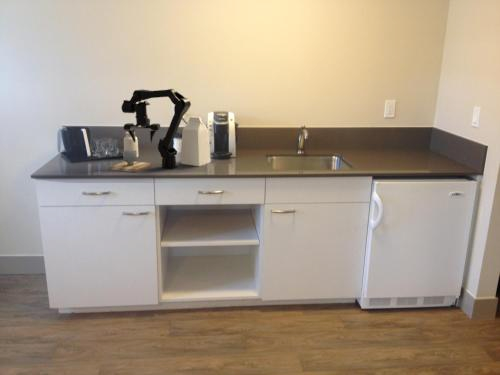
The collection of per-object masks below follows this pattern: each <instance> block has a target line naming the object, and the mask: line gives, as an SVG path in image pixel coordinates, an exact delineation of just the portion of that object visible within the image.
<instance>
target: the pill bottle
mask: <svg viewBox="0 0 500 375" xmlns="http://www.w3.org/2000/svg"><path fill="white" fill-rule="evenodd" d="M134 133H135V134H136V132H134ZM135 141H136V142H134V141H133V139H132V137H131V135H130V134H129V132H128V131H125V136H124V137H123V151H125V150H136V152H137V158H139V141H138V137H137V136H135Z"/></svg>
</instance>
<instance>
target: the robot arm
mask: <svg viewBox="0 0 500 375" xmlns="http://www.w3.org/2000/svg"><path fill="white" fill-rule="evenodd" d="M155 98H156V99H157V98H169V100H170V101H171V103H172V104H173V106H174V107H173V110H174V111H173V116H172V118H171V121H170V124H169V126H168V129H167V131H166V134H165V136H164V137H162V138H159V142H158V144H157V145H156V147H157V150H158V153H159V154H160V157H161V158H162V159H161V169H169V170H170V169H171V170H173V169H175V168H177V167H178V164H177V162H176V161H177V159H176V157H177V154H178V150H177V149H176V147H174V145H175V136H176V135H177V132H178V129H179V126H180V124H181V122H182V119H183V117H184V115H186V113H187V112H188V111H189V109H190V107H191V106H192V104H191V101H190V99H189V98H187V97H185V96H184V95H183V94H181V93H180V92H178V91H177V90H176V89H174V88H168V89H159V90H158V89H157V90H149V89H136V90H133V93H132V96H131V97H130V100H128V99H123V103H122V104H121V111H122V113H123V114H135V119H136V120H135V121H136V123H135V124H134V123H133V122H131V123H129V122H127V123H125V124H124V125H123V130H124V131H125V130H126V131H125V132H129V134H130V135H131V137H132V139H133V141H134V142H136V141H135V137H136V132H135V131H136V129H151V130H150V132H149V134H150V135H149V136H150V143H151V144H153V140H154V136H155V133H156V132H158V131H159V130H160V129H161V124H160V123H151V118H149V116H148V113H147V106H150V105H151V103H149V102H148V101H147V100H149V99H155ZM134 132H135V133H134Z"/></svg>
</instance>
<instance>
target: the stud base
mask: <svg viewBox="0 0 500 375" xmlns="http://www.w3.org/2000/svg"><path fill="white" fill-rule="evenodd" d="M151 166H152V163H151V162H143V161H142V162H141V161H134V162H125V161H124V160H123V161H121V162H119V163H115V164H113V165H110V166H109V171H110V170H112V171H119V172H121V171H122V172H127V173H129V172H131V173H138V172H141V171H143V170H145V169H147V168H150V167H151Z"/></svg>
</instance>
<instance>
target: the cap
mask: <svg viewBox="0 0 500 375" xmlns="http://www.w3.org/2000/svg"><path fill="white" fill-rule="evenodd" d="M122 157H123V158H122V159H123V161H125V162H138V157H137V152H136V150H125V151H124V150H122Z"/></svg>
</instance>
